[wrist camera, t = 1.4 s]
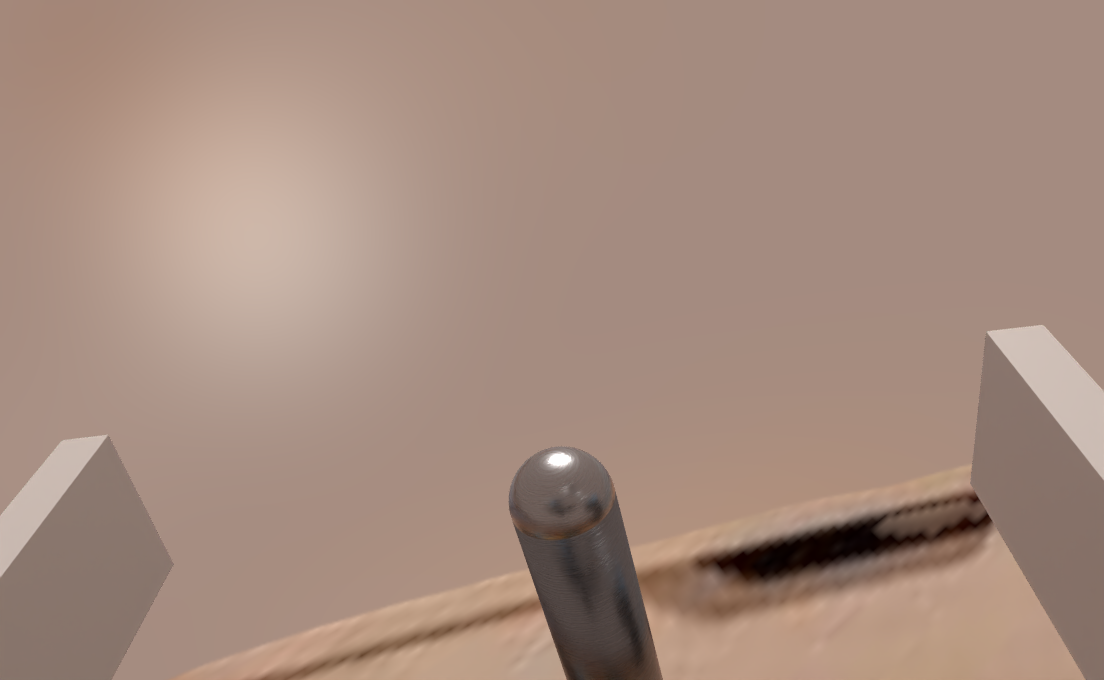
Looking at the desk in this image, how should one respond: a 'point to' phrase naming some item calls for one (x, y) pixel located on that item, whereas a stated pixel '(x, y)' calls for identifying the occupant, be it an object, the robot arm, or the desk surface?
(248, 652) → the desk surface
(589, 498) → the round-tipped metal rod
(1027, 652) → the desk surface
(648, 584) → the desk surface
